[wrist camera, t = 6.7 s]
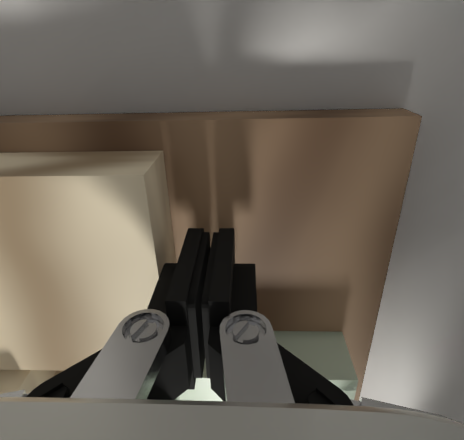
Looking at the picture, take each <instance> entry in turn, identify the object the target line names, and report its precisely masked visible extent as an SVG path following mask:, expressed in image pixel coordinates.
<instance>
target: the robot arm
mask: <svg viewBox="0 0 464 440" xmlns="http://www.w3.org/2000/svg"><path fill="white" fill-rule="evenodd" d="M205 361H206V375H207V378H210V383H211V389H212V390H213V391H214V392H215V393H216V394H217V395H218V396H219V397H220V398H221V399H222V400H223V401H193V400H180V398H179V396H180V395H181V394H182V393H184V392H185V391H186V390H188V389H189V390H194V389H195V383H196V378H202V377H203V370H204V362H205ZM0 440H464V424H462V423H459V422H456V421H454V420H452V419H449V418H447V417H444V416H441V415H438V414H433V413H429V412H424V411H420V410H416V409H411V408H407V407H403V406H398V405H394V404H390V403H385V402H381V401H376V400H372V399H368V398H363V397H361V401H356V400H352V399H350V398H349V397H348V395H346V394H345V393H344V392H343V391H342V390H341V389H340V388H339V387H337V386H336V385H334V384H333V383H332V382H330V381H329V380H328V379H326V378H325V377H323V376H322V375H321V374H319V373H318V372H317V371H315V370H314V369H312V368H311V367H310V366H308V365H307V364H306V363H304V362H303V361H302V360H300V359H299V358H297V357H296V356H295V355H293V354H292V353H291V352H289V351H288V350H286V349H285V348H284V347H282V346H281V345H280V344H278V343H277V341H276V338H275V335H274V331H273V328H272V325H271V323H270V321H269V320H268V319H267V318H266V317H265V316H264V315H262V314H260V313H258V312H257V293H256V268H255V264H241V263H235V232H234V228H219V232H213V237H212V243H211V247H210V233H209V232H204V228H188V230H187V233H186V236H185V240H184V243H183V246H182V249H181V252H180V255H179V258H178V262H177V263H165V264H164V266H163V268H162V271H161V273H160V276H159V279H158V281H157V284H156V287H155V289H154V292H153V295H152V297H151V300H150V303H149V305H148V308H147V309H144V310H139V311H136V312H133V313H131V314H129V315H128V316H126V317H125V318H124V319H123V320H122V321H121V322H120V323H119V324H118V326H117V327H116V329H115V330H114V332H113V333H112V335H111V336H110V338H109V340H108V341H107V343H106V344H105V346H104V347H103V349H101V350H99V351H97V352H96V353H94V354H92V355H90V356H89V357H87V358H85V359H83V360H82V361H80V362H78V363H76V364H75V365H73V366H71V367H69V368H68V369H66V370H64V371H62V372H61V373H59V374H57V375H55V376H53V377H52V378H50V379H48V380H46V381H45V382H43V383H42V384H40V385H39V386H37V387H36V388H34V389H33V390H32V391H31V392H30V393H28V394H26V391H25V390H19V391H14V392H8V393H3V394H0Z"/></svg>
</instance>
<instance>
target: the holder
mask: <svg viewBox="0 0 464 440" xmlns="http://www.w3.org/2000/svg"><path fill="white" fill-rule="evenodd" d="M61 372H62V371H58V370H0V394H3V393H8V392H14V391H19V390H25V391H26V394H28V393H30V392H31V391H32V390H33V389H34V388H36V387H37V386H39V385H40V384H42V383H43V382H45V381H46V380H48V379H50V378H52V377H53V376H55V375H57V374H59V373H61Z"/></svg>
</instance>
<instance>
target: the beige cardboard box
mask: <svg viewBox="0 0 464 440" xmlns="http://www.w3.org/2000/svg"><path fill="white" fill-rule="evenodd" d="M165 263H176V256H175V248H174V239H173V231H172V222H171V214H170V205H169V197H168V188H167V180H166V171H165V163H164V154H163V151H95V152H19V153H0V370H58V371H64V370H66V369H68V368H69V367H71V366H73V365H75V364H76V363H78V362H80V361H82V360H83V359H85V358H87V357H89V356H90V355H92V354H94V353H96V352H97V351H99V350H101V349H103V347H104V346H105V344H106V343H107V341H108V340H109V338H110V336H111V335H112V333H113V332H114V330H115V329H116V327H117V326H118V324H119V323H120V322H121V321H122V320H123V319H124V318H125V317H126V316H128V315H129V314H131V313H133V312H136V311H139V310H144V309H147V308H148V305H149V303H150V300H151V297H152V295H153V292H154V289H155V287H156V284H157V281H158V279H159V276H160V273H161V271H162V268H163V266H164V264H165Z"/></svg>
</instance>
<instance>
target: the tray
mask: <svg viewBox="0 0 464 440" xmlns="http://www.w3.org/2000/svg"><path fill="white" fill-rule="evenodd" d="M274 335H275V338H276V341H277V343H278V344H280V345H281V346H282V347H284V348H285V349H286V350H288V351H289V352H291V353H292V354H293V355H295V356H296V357H297V358H299V359H300V360H302V361H303V362H304V363H306V364H307V365H308V366H310V367H311V368H312V369H314V370H315V371H317V372H318V373H319V374H321V375H322V376H323V377H325V378H326V379H328V380H329V381H330V382H332V383H333V384H334V385H336V386H337V387H339V388H340V389H341V390H342V391H343V392H344V393H345V394H346V395H348V397H349V398H350V399H352V400H354V398H355V394H356V389H357V384H358V378H357V375H356V372H355V369H354V366H353V363H352V360H351V357H350V354H349V351H348V348H347V345H346V342H345V339H344V336H343V333H342V332H326V331H274ZM179 398H180V400H193V401H223V400H222V399H221V398H220V397H219V396H218V395H217V394H216V393H215V392H214V391H213V390H212V389H211V383H210V378H207V375H206V361H205V362H204V370H203V377H202V378H196V383H195V389H194V390H189V389H188V390H186V391H185V392H184V393H182V394H181V395H180V396H179Z"/></svg>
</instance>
